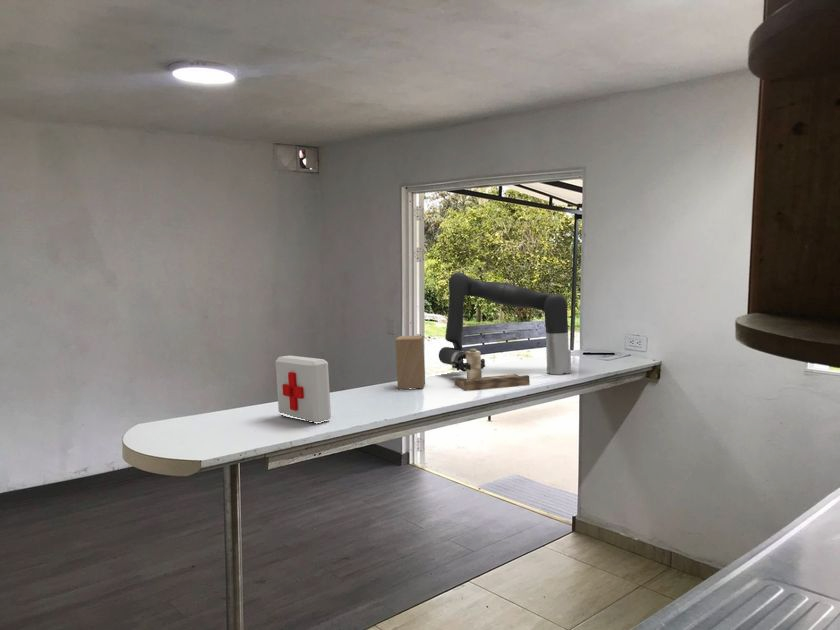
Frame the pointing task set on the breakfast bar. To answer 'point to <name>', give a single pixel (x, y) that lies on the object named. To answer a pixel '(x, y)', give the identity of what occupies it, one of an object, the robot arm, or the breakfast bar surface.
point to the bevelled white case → (303, 388)
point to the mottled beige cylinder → (474, 364)
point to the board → (488, 386)
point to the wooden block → (410, 362)
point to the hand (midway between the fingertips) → (475, 366)
